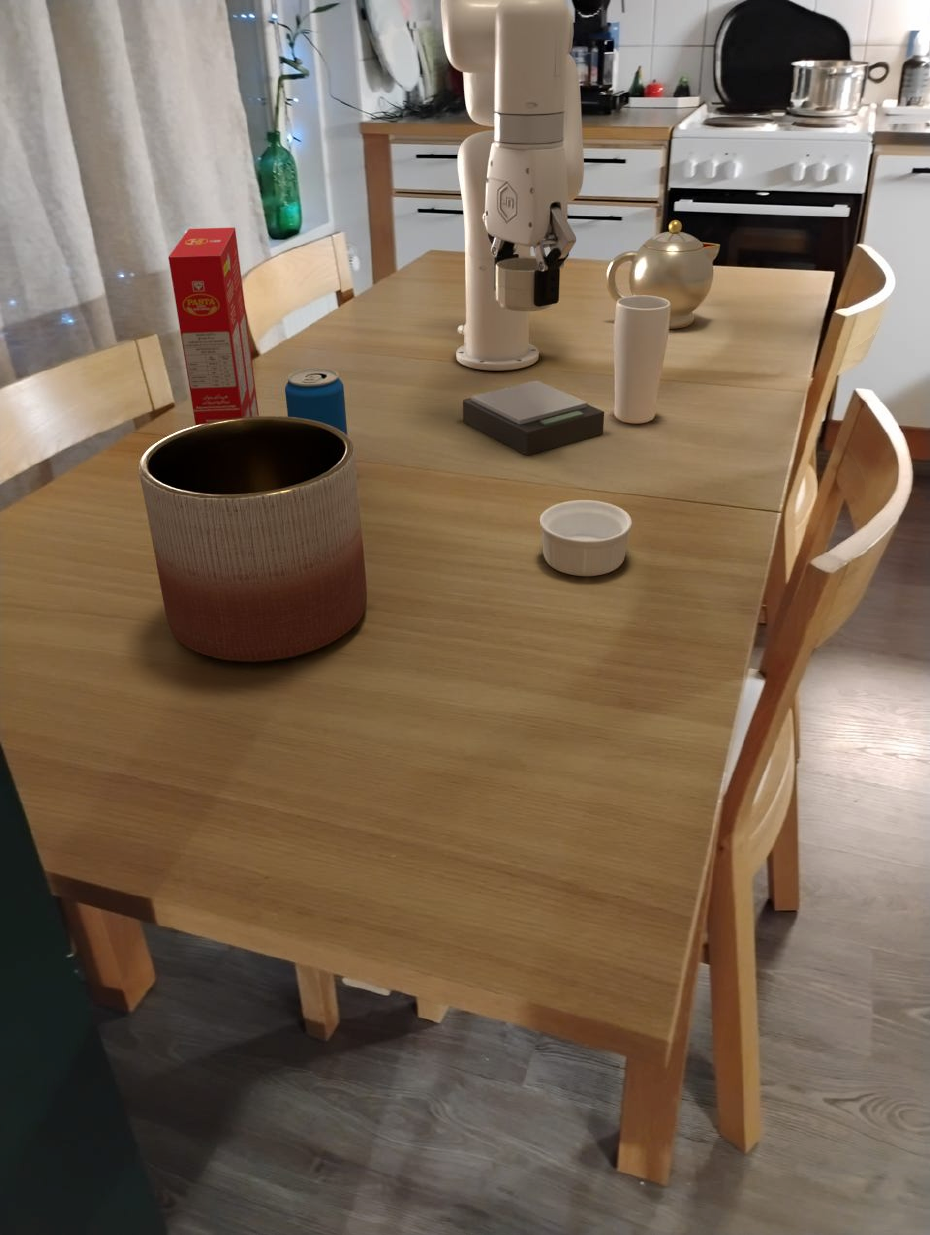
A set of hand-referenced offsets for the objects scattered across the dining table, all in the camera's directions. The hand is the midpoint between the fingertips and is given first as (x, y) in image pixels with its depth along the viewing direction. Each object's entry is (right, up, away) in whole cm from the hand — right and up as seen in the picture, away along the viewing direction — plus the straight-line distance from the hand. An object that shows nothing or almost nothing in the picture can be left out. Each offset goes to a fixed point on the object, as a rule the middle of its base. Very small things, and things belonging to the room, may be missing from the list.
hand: (525, 296), depth 118 cm
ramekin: (+5, -32, -19) cm, 37 cm away
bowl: (0, -1, +1) cm, 1 cm away
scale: (+1, -13, +11) cm, 18 cm away
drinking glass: (+15, -12, +14) cm, 24 cm away
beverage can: (-24, -21, -1) cm, 32 cm away
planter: (-25, -38, -27) cm, 53 cm away
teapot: (+25, +12, +51) cm, 58 cm away
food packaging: (-35, -18, +5) cm, 40 cm away
